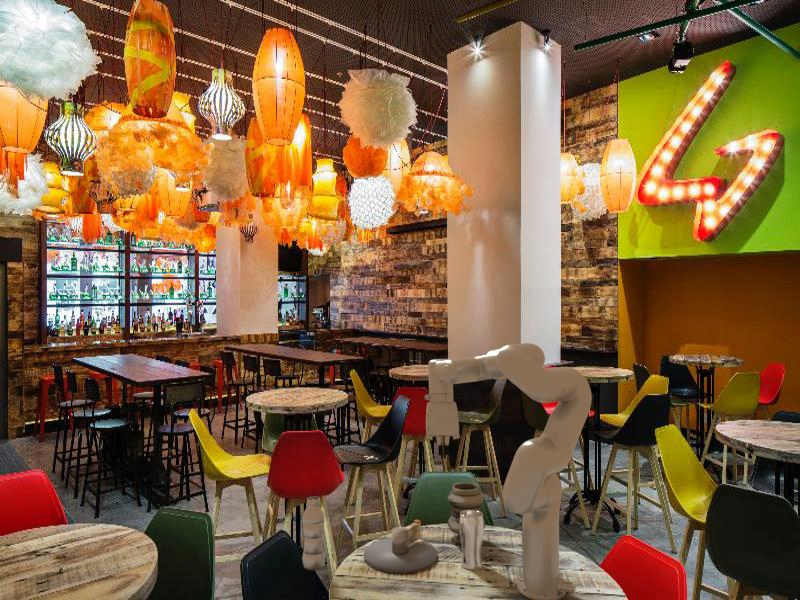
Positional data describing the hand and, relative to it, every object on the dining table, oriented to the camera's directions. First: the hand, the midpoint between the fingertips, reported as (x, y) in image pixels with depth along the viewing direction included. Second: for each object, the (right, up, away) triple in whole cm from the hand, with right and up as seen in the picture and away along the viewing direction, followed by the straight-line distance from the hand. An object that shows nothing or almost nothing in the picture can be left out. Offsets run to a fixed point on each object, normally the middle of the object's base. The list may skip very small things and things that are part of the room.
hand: (443, 457), depth 176 cm
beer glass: (+7, -29, -12) cm, 32 cm away
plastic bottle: (-39, -29, -13) cm, 50 cm away
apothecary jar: (+8, -29, +6) cm, 31 cm away
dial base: (-13, -29, -5) cm, 32 cm away
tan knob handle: (-11, -27, -2) cm, 29 cm away
